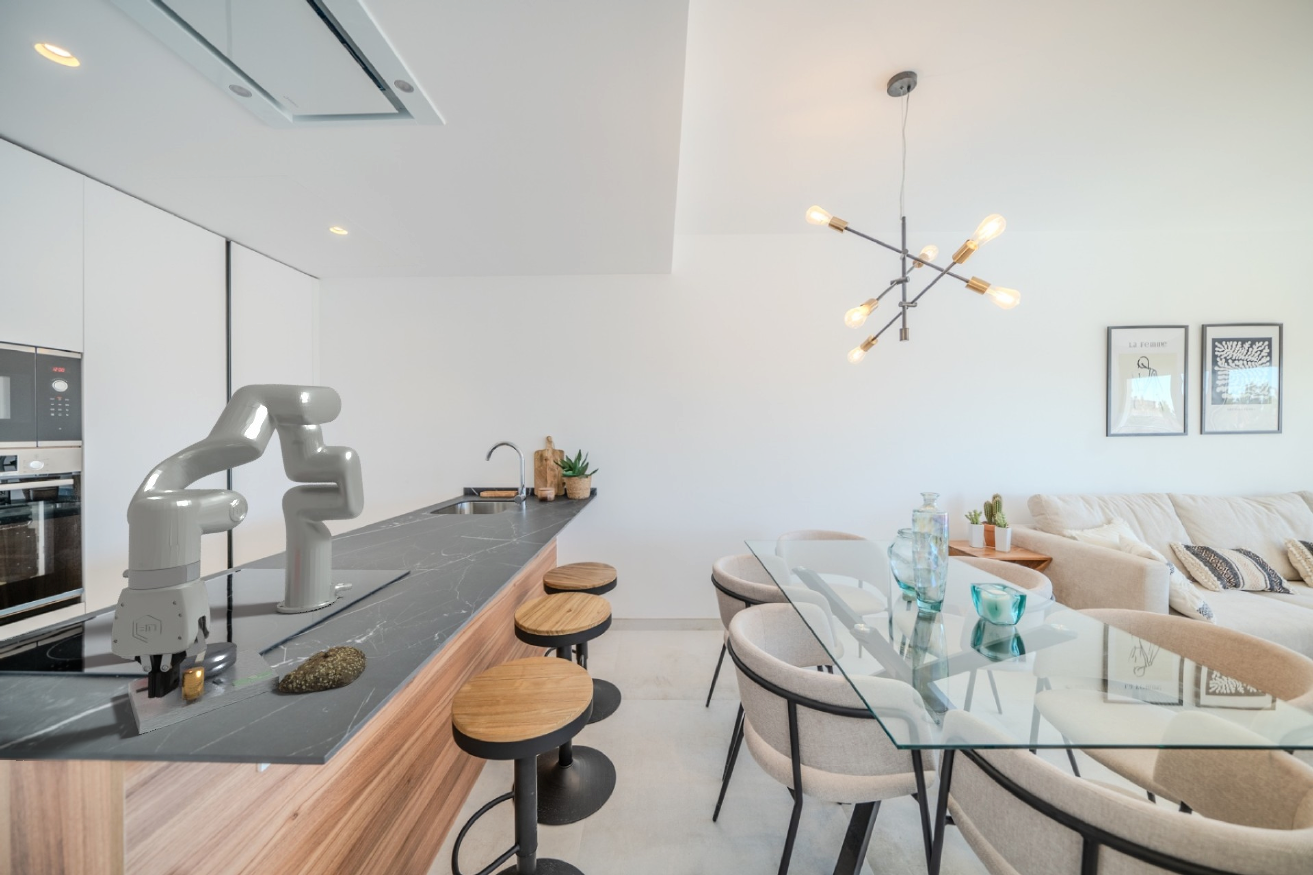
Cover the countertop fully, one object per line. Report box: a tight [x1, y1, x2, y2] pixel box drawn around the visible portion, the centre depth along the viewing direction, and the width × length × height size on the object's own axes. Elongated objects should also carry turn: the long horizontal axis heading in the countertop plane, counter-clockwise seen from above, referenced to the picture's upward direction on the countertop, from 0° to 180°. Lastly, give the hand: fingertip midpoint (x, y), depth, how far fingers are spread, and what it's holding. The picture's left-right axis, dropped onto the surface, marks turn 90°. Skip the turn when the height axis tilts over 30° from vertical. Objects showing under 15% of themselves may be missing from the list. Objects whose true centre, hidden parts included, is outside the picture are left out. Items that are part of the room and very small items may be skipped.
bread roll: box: [277, 645, 367, 693], centre depth 82 cm, size 13×12×5 cm
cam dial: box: [180, 641, 238, 700], centre depth 75 cm, size 17×9×4 cm, turn 41°
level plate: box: [127, 647, 280, 735], centre depth 76 cm, size 16×17×3 cm
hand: (163, 692), depth 69 cm, fingers closed
